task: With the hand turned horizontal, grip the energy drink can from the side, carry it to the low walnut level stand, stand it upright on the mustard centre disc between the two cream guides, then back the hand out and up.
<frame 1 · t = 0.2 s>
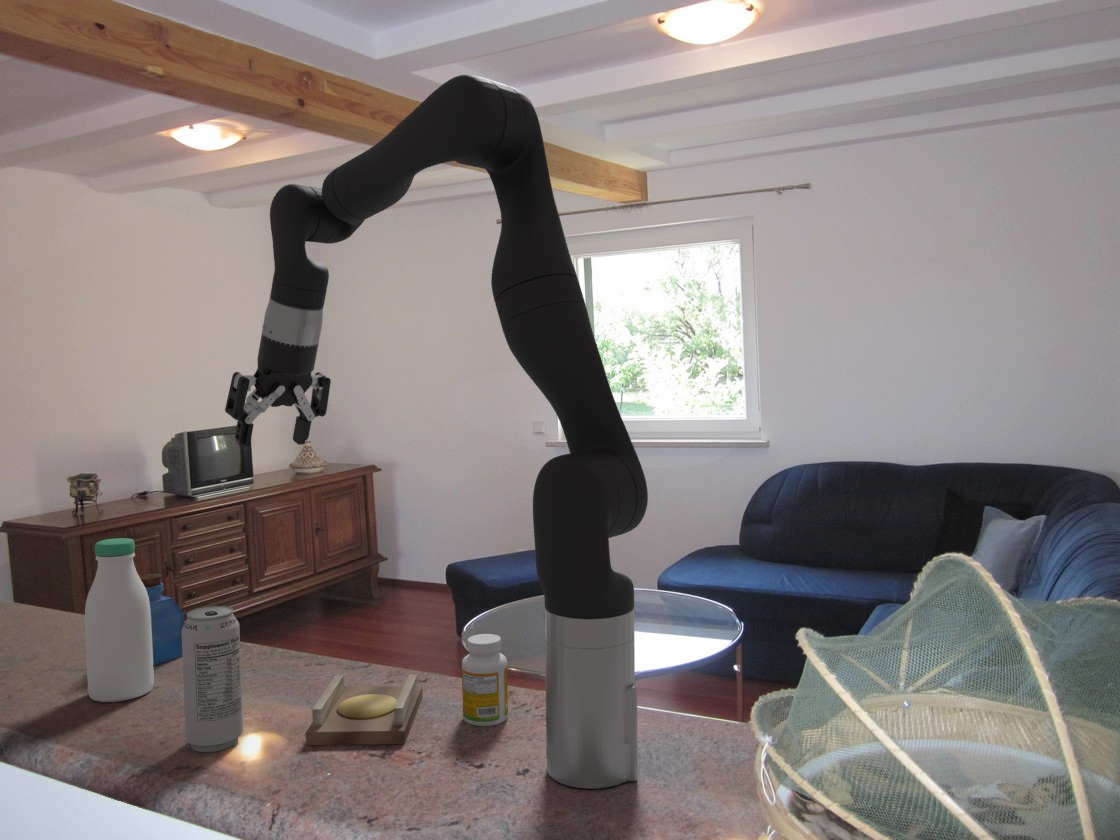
hand: (271, 444, 128), 31 cm above the counter, tool tilted 20°, fingers open, 8 cm apart
level stand: (368, 719, 109), on the counter
perfume bottle: (153, 659, 133), on the counter
energy drink can: (215, 744, 103), on the counter
milk bottle: (121, 694, 119), on the counter
supplement bottle: (485, 720, 109), on the counter
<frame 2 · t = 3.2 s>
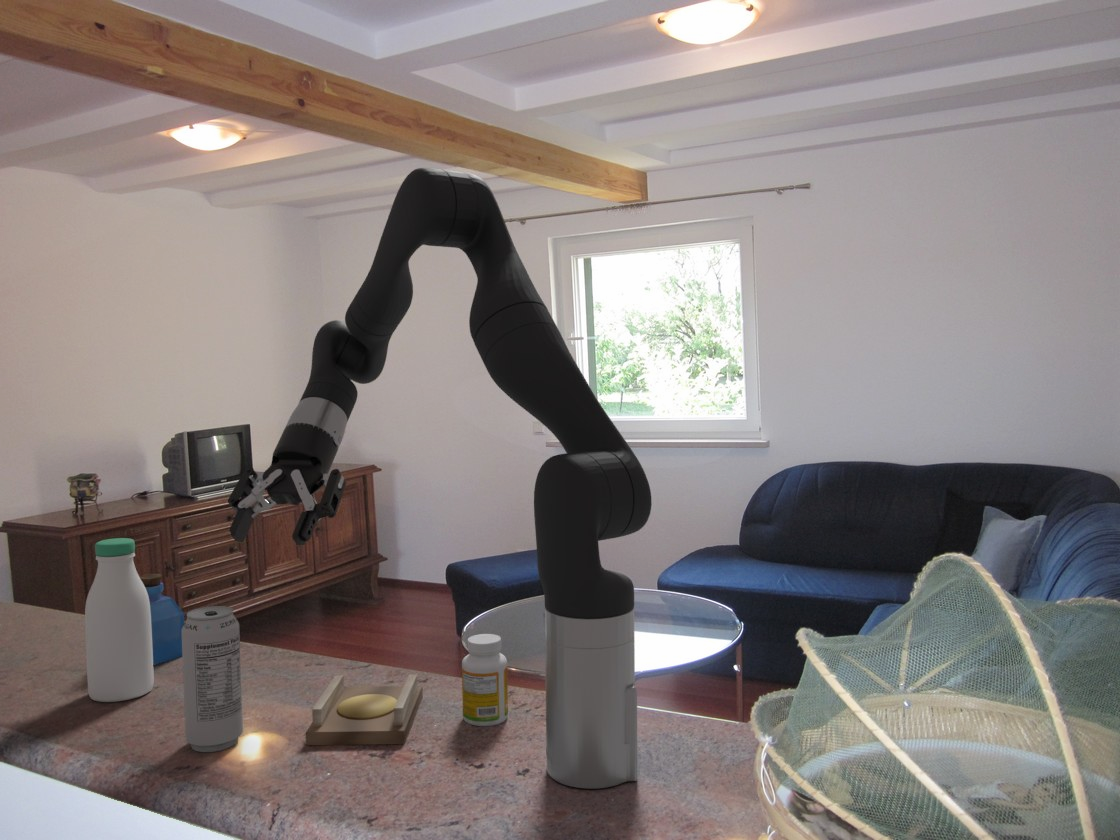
hand: (266, 540, 113), 21 cm above the counter, tool tilted 45°, fingers open, 8 cm apart
nothing on the counter moved.
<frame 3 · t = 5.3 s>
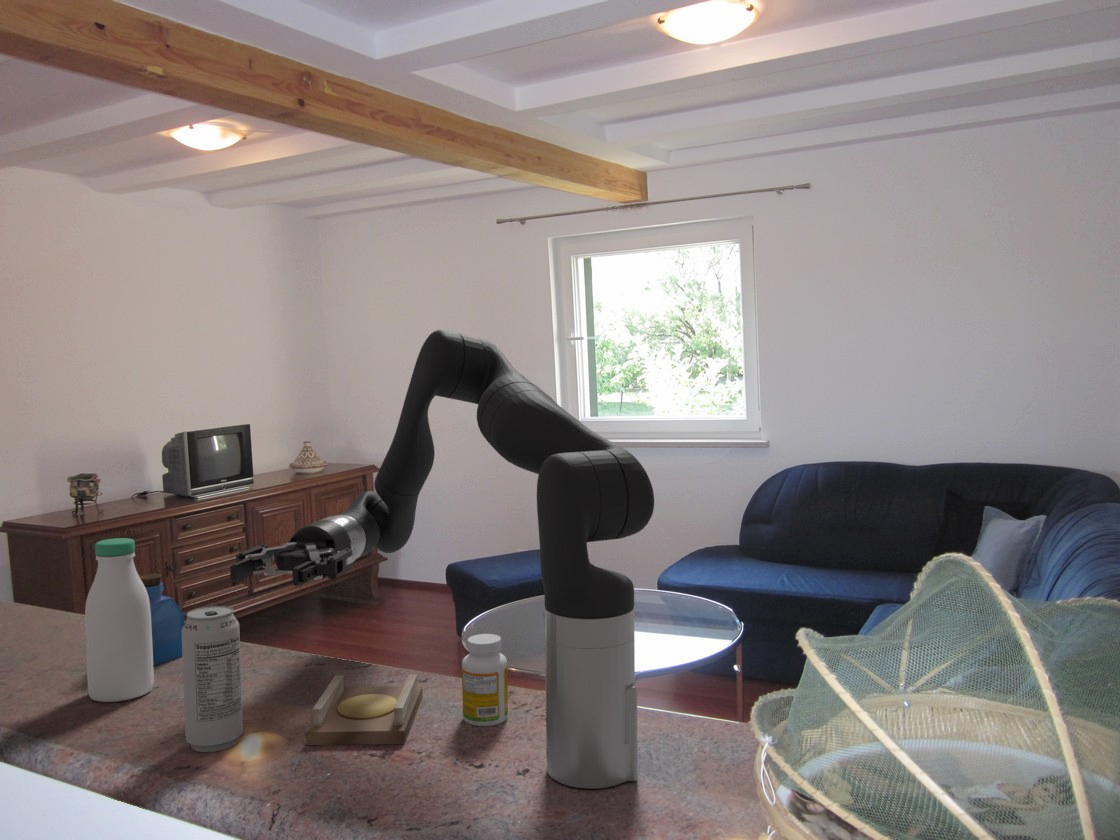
hand: (264, 575, 112), 16 cm above the counter, tool horizontal, fingers open, 8 cm apart
nothing on the counter moved.
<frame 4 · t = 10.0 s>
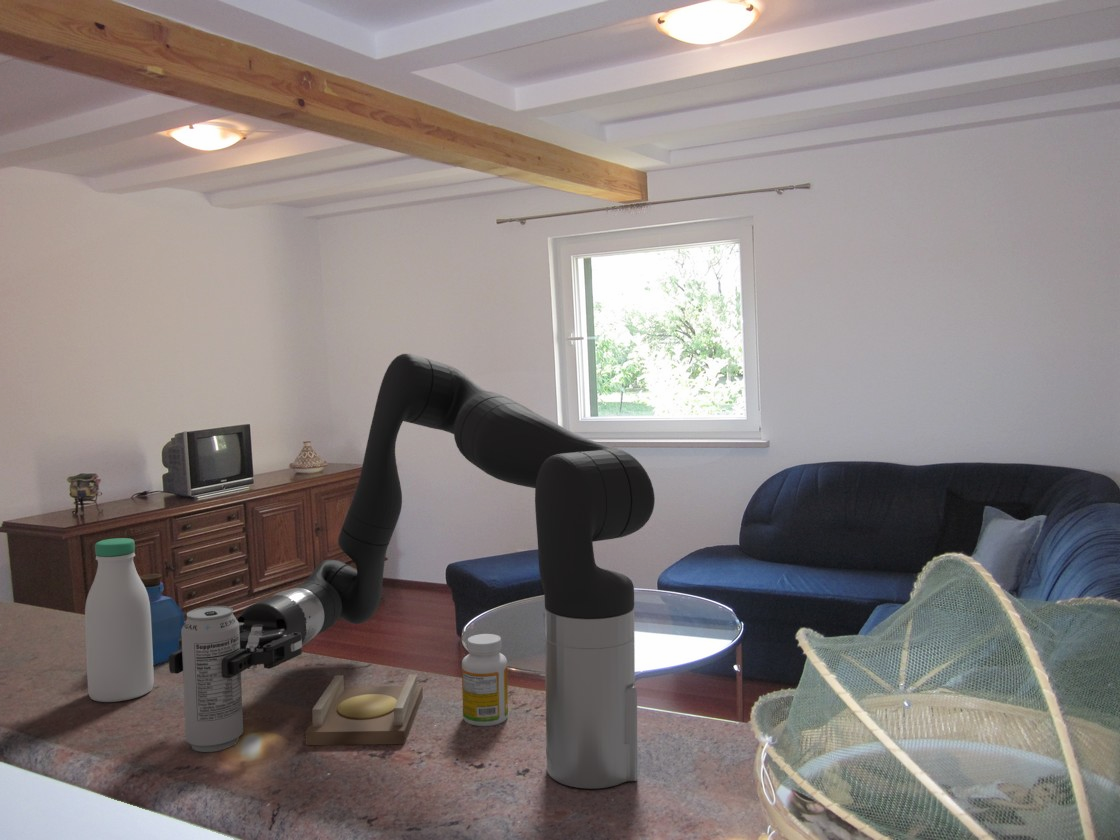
hand: (198, 667, 100), 10 cm above the counter, tool horizontal, fingers closed on energy drink can, 6 cm apart
energy drink can: (215, 744, 103), on the counter, touching gripper
everything else where it was.
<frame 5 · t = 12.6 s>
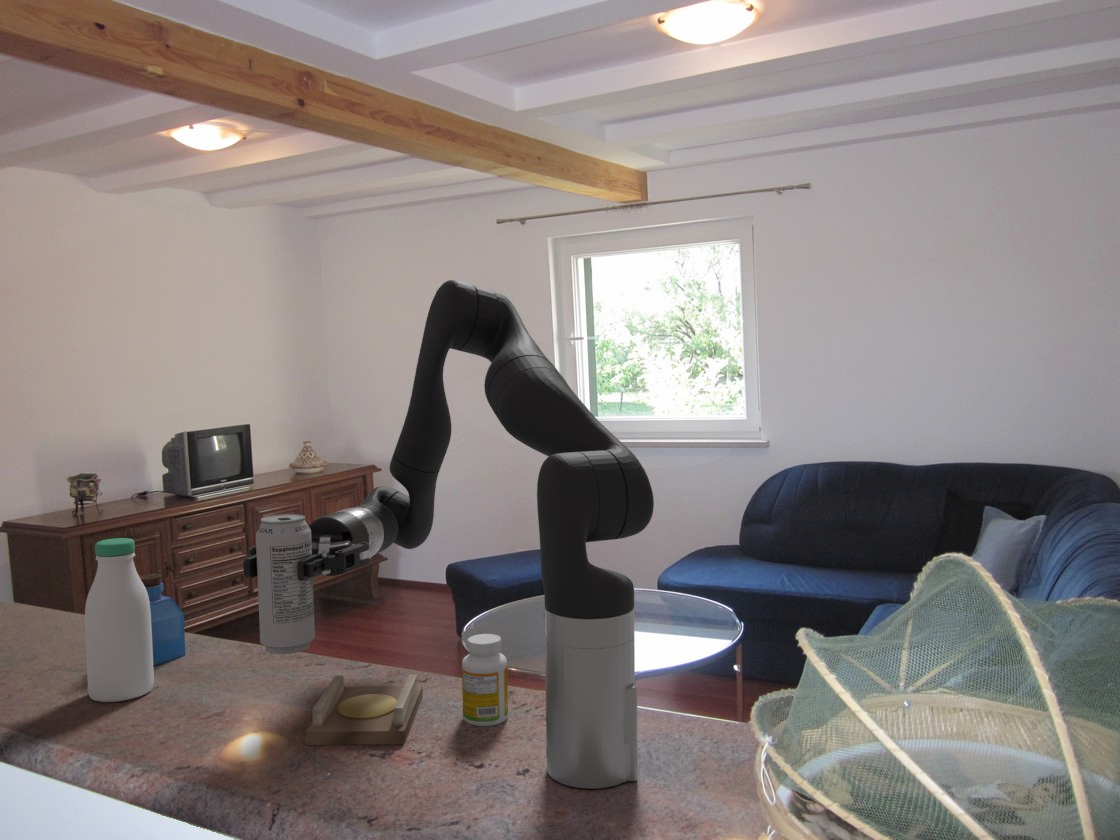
hand: (274, 570, 102), 20 cm above the counter, tool horizontal, fingers closed on energy drink can, 6 cm apart
energy drink can: (288, 648, 105), point 10 cm above the counter, touching gripper
everything else where it was.
when the fingers open (12 cm above the counter, at t = 15.2 s): energy drink can stays where it is, resting on level stand.
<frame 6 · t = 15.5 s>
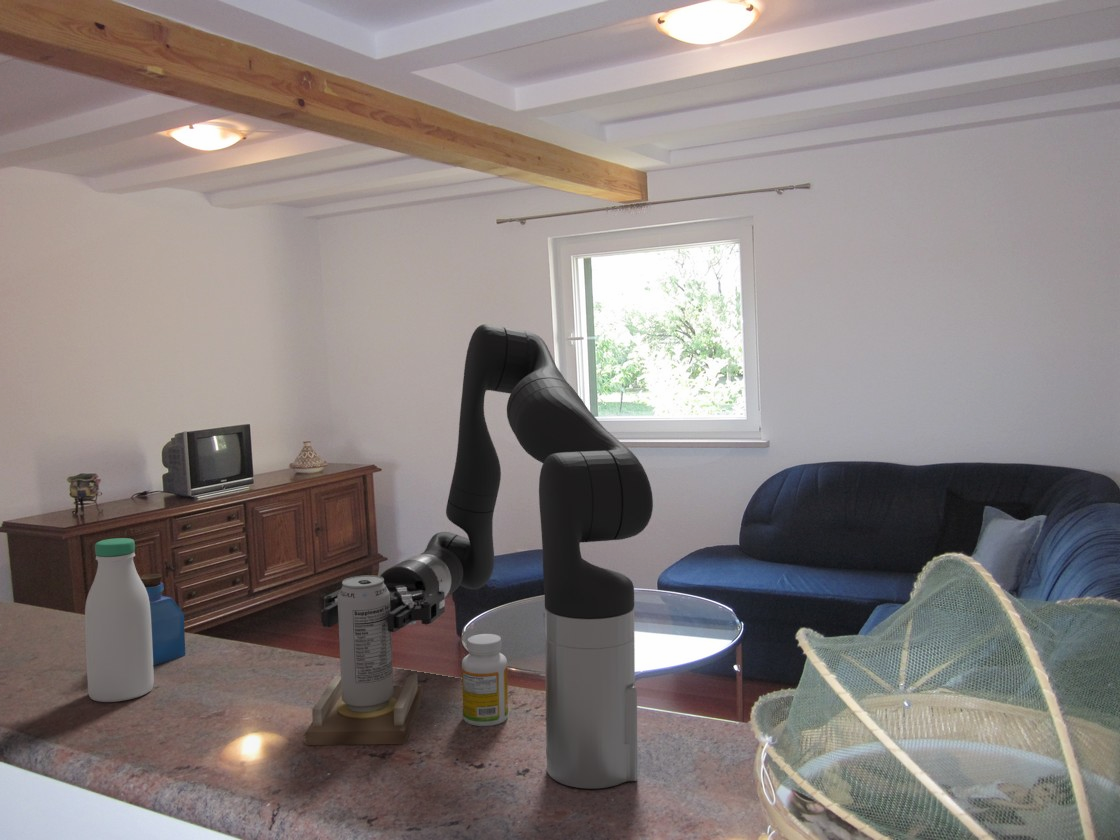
hand: (357, 621, 106), 12 cm above the counter, tool horizontal, fingers open, 8 cm apart
energy drink can: (368, 705, 109), point 2 cm above the counter, touching level stand
everything else where it was.
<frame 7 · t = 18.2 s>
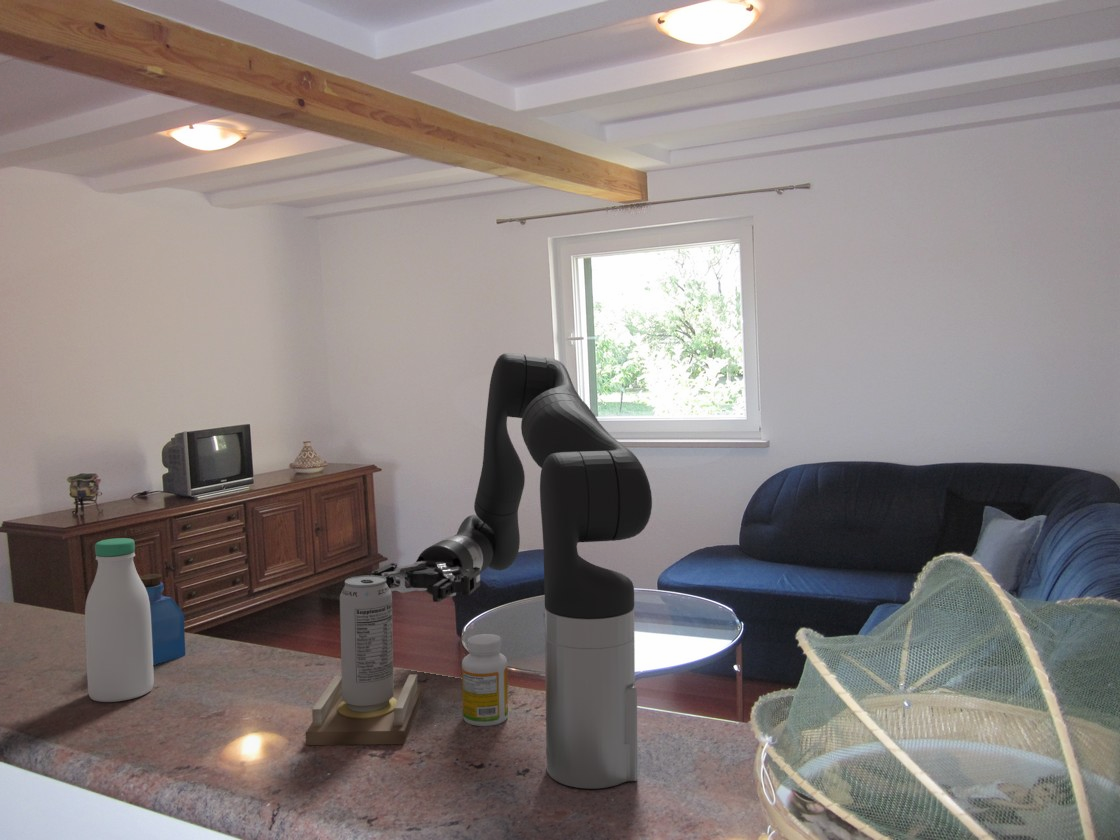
hand: (404, 592, 119), 13 cm above the counter, tool horizontal, fingers open, 8 cm apart
nothing on the counter moved.
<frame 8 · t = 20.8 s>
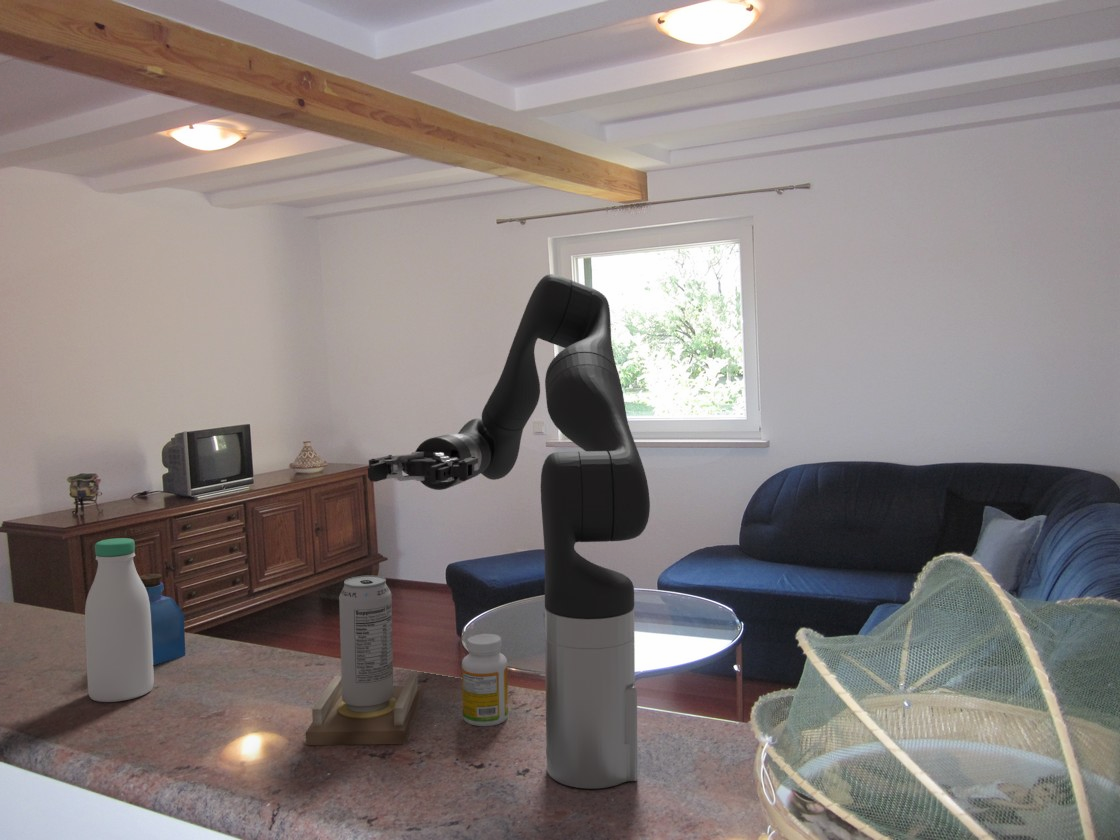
hand: (402, 474, 118), 28 cm above the counter, tool horizontal, fingers open, 8 cm apart
nothing on the counter moved.
at the end: energy drink can 0.2 cm off-centre on the level stand, point 1.6 cm above the level stand's base; energy drink can tilted 0°; the gripper is holding nothing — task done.
